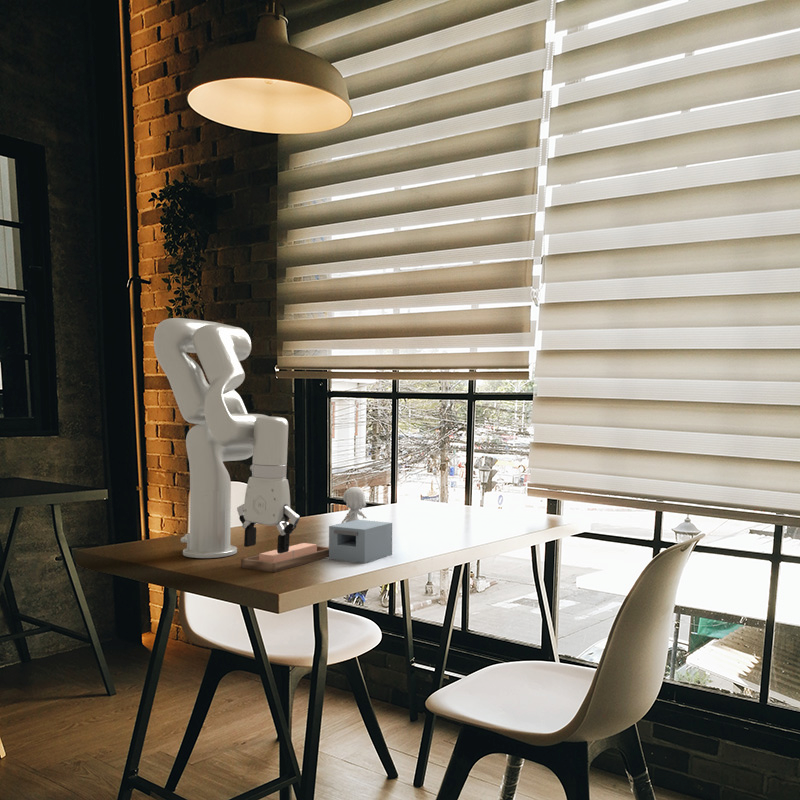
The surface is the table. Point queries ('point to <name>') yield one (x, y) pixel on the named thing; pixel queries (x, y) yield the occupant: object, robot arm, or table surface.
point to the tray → (284, 561)
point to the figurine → (354, 503)
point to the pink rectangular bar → (288, 553)
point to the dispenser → (360, 541)
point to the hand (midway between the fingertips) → (266, 548)
